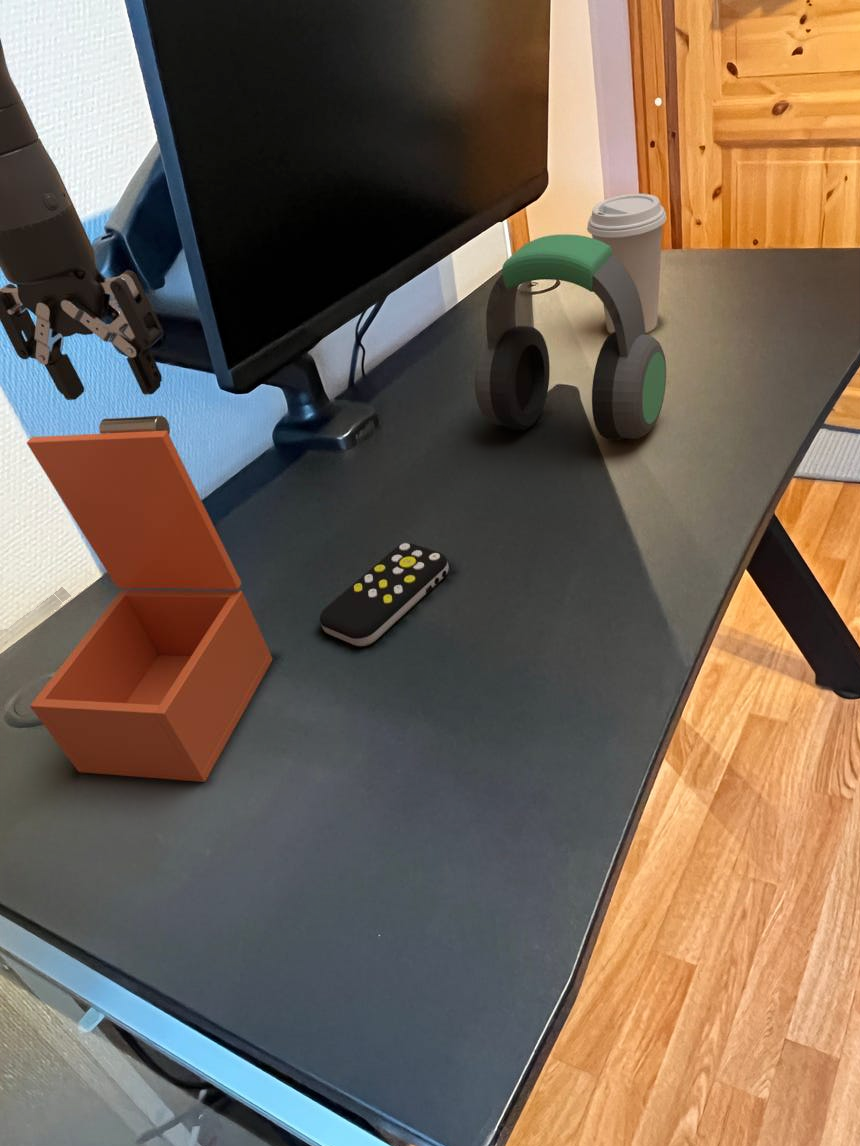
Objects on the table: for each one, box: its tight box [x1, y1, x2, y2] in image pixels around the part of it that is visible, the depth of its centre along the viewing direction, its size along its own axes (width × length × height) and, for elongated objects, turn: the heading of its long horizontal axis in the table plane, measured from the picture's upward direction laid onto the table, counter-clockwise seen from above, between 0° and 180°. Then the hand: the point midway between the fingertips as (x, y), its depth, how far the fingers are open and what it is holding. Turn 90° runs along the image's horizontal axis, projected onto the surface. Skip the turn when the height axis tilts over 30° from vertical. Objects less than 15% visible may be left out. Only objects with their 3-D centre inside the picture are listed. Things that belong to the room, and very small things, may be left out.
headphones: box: [474, 233, 667, 441], centre depth 91 cm, size 19×11×20 cm, turn 63°
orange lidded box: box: [29, 589, 274, 783], centre depth 71 cm, size 14×12×8 cm
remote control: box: [319, 542, 449, 647], centre depth 79 cm, size 6×13×2 cm, turn 143°
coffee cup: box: [586, 193, 668, 334], centre depth 109 cm, size 10×10×15 cm
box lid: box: [26, 415, 242, 590], centre depth 69 cm, size 14×12×5 cm
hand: (114, 393), depth 82 cm, fingers open, 8 cm apart
